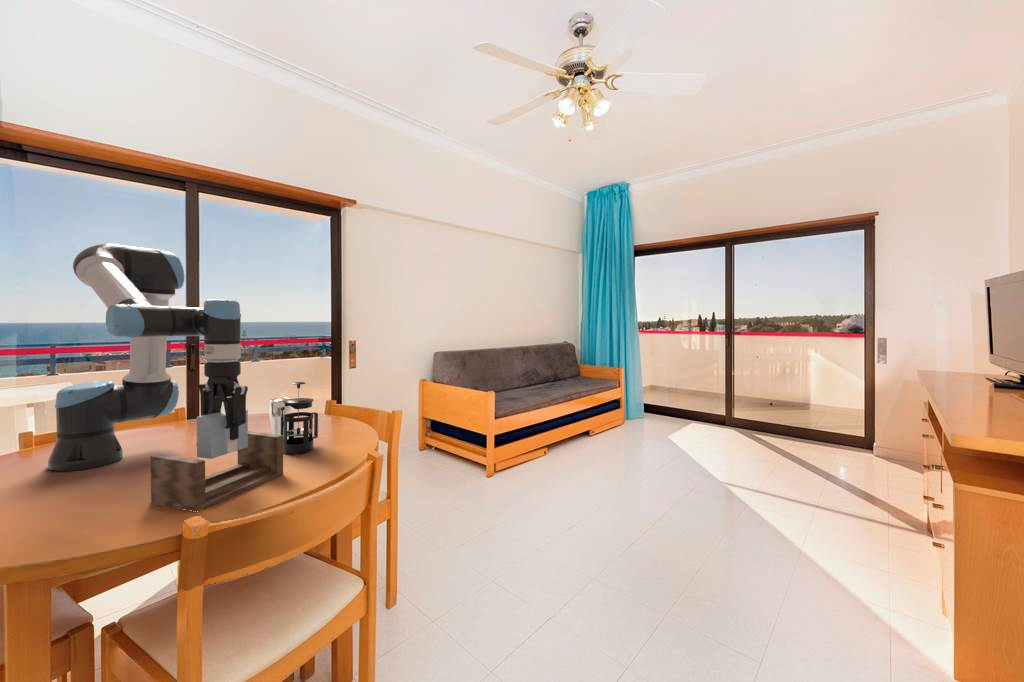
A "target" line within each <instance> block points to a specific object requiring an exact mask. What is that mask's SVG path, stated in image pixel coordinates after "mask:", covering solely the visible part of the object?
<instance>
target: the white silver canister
mask: <svg viewBox="0 0 1024 682" xmlns="http://www.w3.org/2000/svg"><path fill="white" fill-rule="evenodd" d="M288 399H292V398H290V397H277V398H271V399H270V400H269V409H268V415H269V416H268V417H269V421H270V426H271V434H276V435H283V441H284V421H283V416H284V415H286V414H289V413H293V412H292V411H293V408H292V407H291V406H287V407H285V403H283V401H285V400H288ZM288 430H289V422H287V431H288ZM287 439H289V436H287Z"/></svg>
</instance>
